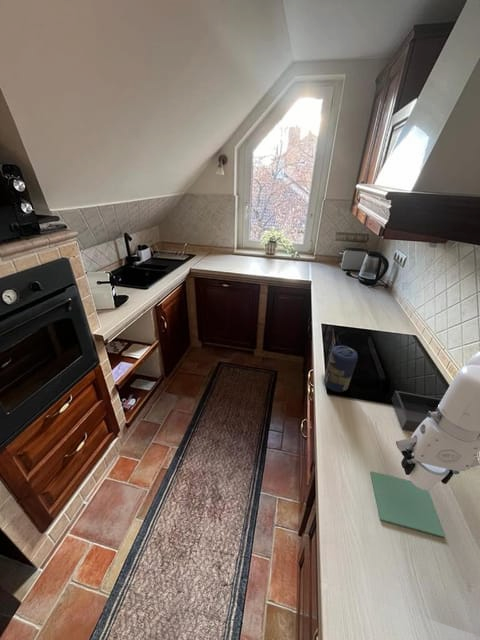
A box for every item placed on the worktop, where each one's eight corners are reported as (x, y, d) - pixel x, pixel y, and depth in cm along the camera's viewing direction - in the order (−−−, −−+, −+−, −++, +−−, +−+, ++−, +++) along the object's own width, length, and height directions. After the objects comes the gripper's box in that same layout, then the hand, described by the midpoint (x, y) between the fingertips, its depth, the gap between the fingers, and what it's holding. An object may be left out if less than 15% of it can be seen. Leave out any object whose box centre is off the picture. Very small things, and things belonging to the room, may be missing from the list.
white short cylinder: (396, 469, 62) (406, 452, 58) (415, 459, 64) (426, 442, 61) (424, 498, 56) (436, 481, 53) (443, 486, 59) (457, 468, 55)
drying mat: (424, 485, 69) (425, 484, 69) (444, 538, 59) (445, 537, 59) (370, 472, 72) (370, 471, 72) (379, 520, 62) (380, 519, 62)
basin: (436, 408, 93) (442, 398, 91) (454, 440, 82) (461, 430, 80) (391, 399, 97) (395, 390, 94) (401, 429, 85) (406, 419, 83)
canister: (321, 376, 107) (330, 340, 98) (344, 378, 106) (355, 343, 97) (325, 392, 99) (334, 355, 90) (350, 395, 98) (362, 358, 89)
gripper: (415, 427, 49) (386, 479, 58) (522, 449, 46) (474, 500, 54) (403, 399, 55) (379, 449, 64) (496, 416, 52) (457, 467, 61)
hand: (423, 472), depth 59 cm, fingers closed on white short cylinder, 6 cm apart
